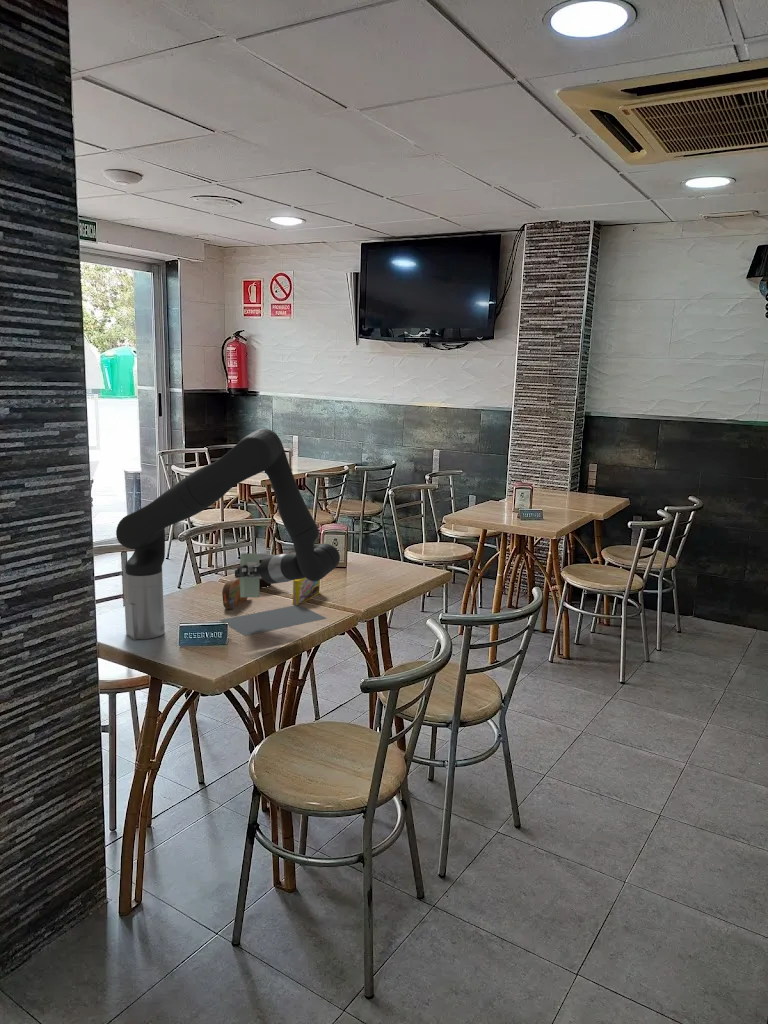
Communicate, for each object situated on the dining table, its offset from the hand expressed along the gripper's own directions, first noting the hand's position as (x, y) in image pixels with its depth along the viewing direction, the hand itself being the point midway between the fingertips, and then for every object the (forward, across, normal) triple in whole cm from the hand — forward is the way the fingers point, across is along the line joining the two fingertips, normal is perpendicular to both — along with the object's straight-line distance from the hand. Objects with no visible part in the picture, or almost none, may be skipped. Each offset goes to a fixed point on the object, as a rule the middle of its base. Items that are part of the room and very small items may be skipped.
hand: (244, 574), depth 206 cm
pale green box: (-3, 0, +7) cm, 7 cm away
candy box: (+8, -29, +6) cm, 30 cm away
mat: (-2, -9, +13) cm, 16 cm away
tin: (+18, -9, +8) cm, 21 cm away
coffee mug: (+28, -27, 0) cm, 39 cm away
